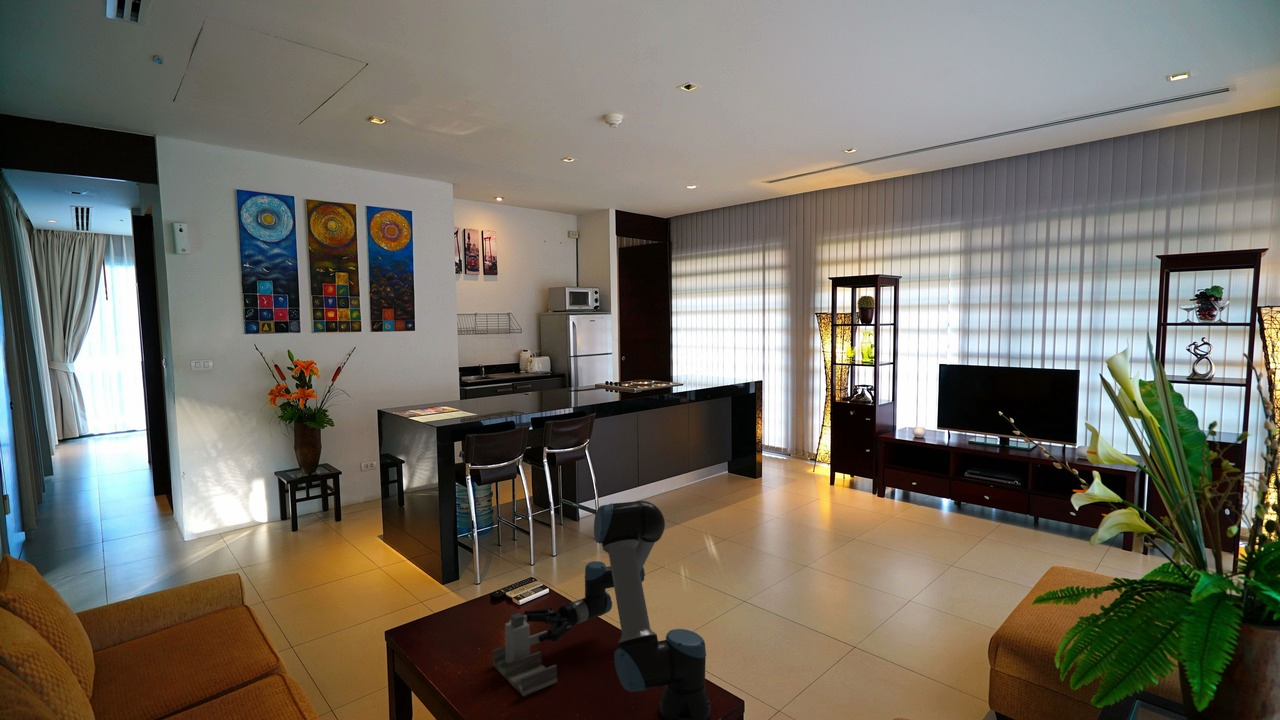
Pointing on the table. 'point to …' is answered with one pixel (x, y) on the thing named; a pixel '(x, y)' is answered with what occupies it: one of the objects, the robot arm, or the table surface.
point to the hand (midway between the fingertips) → (518, 632)
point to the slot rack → (525, 671)
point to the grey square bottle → (516, 638)
